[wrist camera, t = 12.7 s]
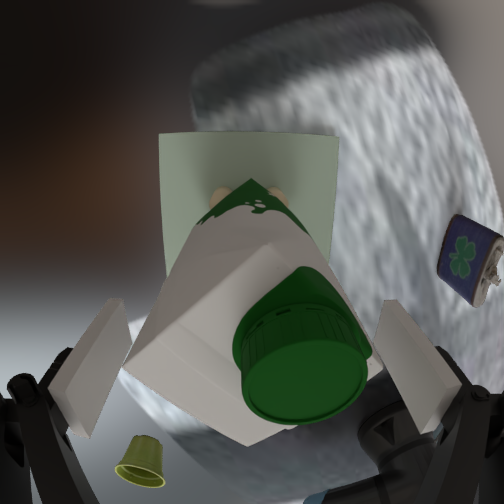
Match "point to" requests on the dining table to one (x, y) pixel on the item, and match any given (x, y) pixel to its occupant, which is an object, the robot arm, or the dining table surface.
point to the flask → (470, 258)
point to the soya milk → (253, 325)
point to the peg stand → (246, 178)
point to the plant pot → (142, 462)
